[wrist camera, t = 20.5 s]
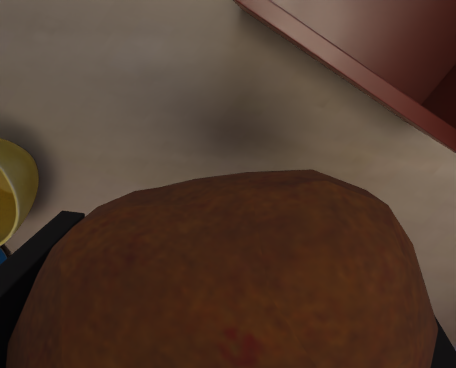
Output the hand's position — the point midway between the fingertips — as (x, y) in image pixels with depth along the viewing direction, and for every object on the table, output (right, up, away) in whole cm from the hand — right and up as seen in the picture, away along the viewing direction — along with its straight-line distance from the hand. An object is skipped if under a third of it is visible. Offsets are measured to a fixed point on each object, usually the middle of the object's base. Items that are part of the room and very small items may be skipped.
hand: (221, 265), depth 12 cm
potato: (0, 0, 0) cm, 0 cm away
